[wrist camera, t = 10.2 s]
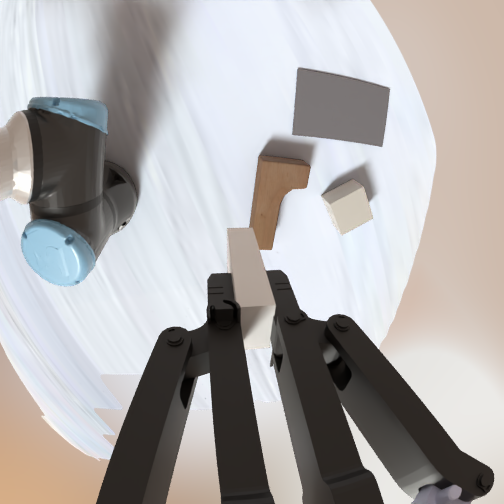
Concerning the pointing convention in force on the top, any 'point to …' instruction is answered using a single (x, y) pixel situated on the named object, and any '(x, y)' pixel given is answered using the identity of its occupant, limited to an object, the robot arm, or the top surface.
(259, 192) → the wooden block
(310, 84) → the charcoal mat
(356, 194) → the smooth beige box
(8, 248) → the top surface
